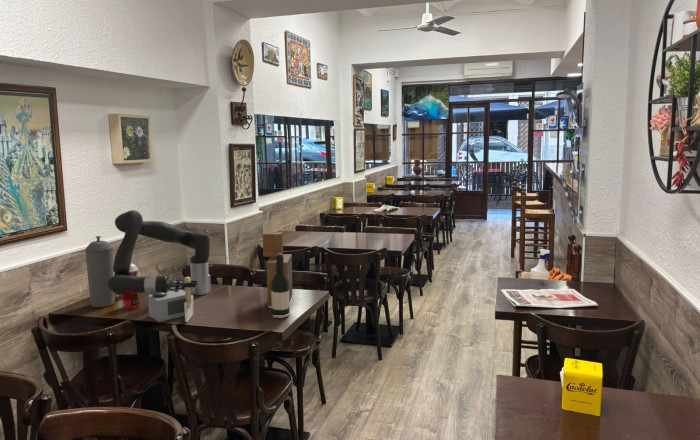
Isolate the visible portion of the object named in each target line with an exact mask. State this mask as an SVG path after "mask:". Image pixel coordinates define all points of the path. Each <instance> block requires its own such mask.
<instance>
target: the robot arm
mask: <svg viewBox="0 0 700 440" xmlns="http://www.w3.org/2000/svg"><path fill="white" fill-rule="evenodd" d="M143 219H144V218H143V216H142V214H141V213H140V212H139V211H137V210H133V209H132V210H128V211H125V212H123V213H121V214H120V215H118V216H117V217H116V218H115V219H114V225H115V228H117V229H118V230H119V231H120V232H122V233H124V236H123V238H122V240H121V242H120V244H119V246H118V248H117V250H116V253H115V255H114V258H113V271H114V276H113V277H111V278H110V279H109V280H108V287H109V288H110V289H111V290H112V291H113V292H114V295H117V296H122V294H124V293H125V292H126V291H127V290H129V291H133V292H136V293H139V294H140V293H145V294H146V293H147V294H153V293H167V292H168V291H169V290H170V291H175V290H185V288H187V287H191V295H193V296H203V295H207V294H209V293H211V291H212V289H211V287H212V286H211V274H209V273H210V271H209V257H210V249H211V248H210V247H211V245H210V244H211V243H210V242H211V241H210V238H209V236H208V234H207V233H205V232H198V231H190V230H189V231H188V230H184V229H181V228H179V226H178V227H177V226H176V225H174V224H171V223H169V222H166V221H165V222H164V221H157V220H156V221H155V220H154V221H153V220H151V221H149V220H147V221H146V220H143ZM138 236H144V237H148V238H151V239H155V240H157V241H158V240H159V241H161V242H166V243H174V244H179V245H182V246H185V247H188V248H190V249H193V250H194V255H192V256H191V257H190V259H189V260H190V262H189V263H190V264H189V265H190V282H185V278H183V277H176V278H172V279H169V276H168V275H152V276H138V277H132V276H129V269H130V264H131V263H132V259H133V253H134V249H135V245H136V243H137V239H138Z"/></svg>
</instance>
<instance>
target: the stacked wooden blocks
mask: <svg viewBox="0 0 700 440" xmlns="http://www.w3.org/2000/svg"><path fill="white" fill-rule="evenodd" d="M283 233H284V232H283V231H281V232H278V231H277V232H275V231H274V232H271V231H270V232H269V231H268V232H267V231H265V232H263V233H262V256H263V257H269V259H268V260H267V261H265V262H264V272H265V273H266V286H267V287H266V289H267V292H266V293H267V294H266V295H267V297H266V298H267V300H266V301H267V306H272V296H271V282H272V280H273V278H274V277H275V275H276V256H277V254H278V253H282V254H283V256H284V274H285V276H286V277H287V279H288V280H289V302H290V300H291V297H292V295H293V255H292V253H290V254H289V253H287V254H286V253H285V254H284V234H283ZM292 298H293V297H292ZM291 301H292V300H291ZM290 303H291V302H290Z"/></svg>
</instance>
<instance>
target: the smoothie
mask: <svg viewBox="0 0 700 440" xmlns="http://www.w3.org/2000/svg"><path fill="white" fill-rule="evenodd" d="M138 270H139V268H138V267H137V265H136V264H135V263H132V262H131V264H130V269H129V276H132V277H139V276H138V275H139V273H138Z"/></svg>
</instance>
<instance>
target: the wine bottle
mask: <svg viewBox="0 0 700 440" xmlns="http://www.w3.org/2000/svg"><path fill="white" fill-rule="evenodd" d="M283 254H284V253H283ZM283 254H282V253H278V254H277V256H276V275H275V277H274V278H273V280H272V282H271V296H272V308H271V315H272V314H273V315H285V314H288V313H289V314H290V305H289V280H288V279H287V277H286V276H285V274H284V256H283Z"/></svg>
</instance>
